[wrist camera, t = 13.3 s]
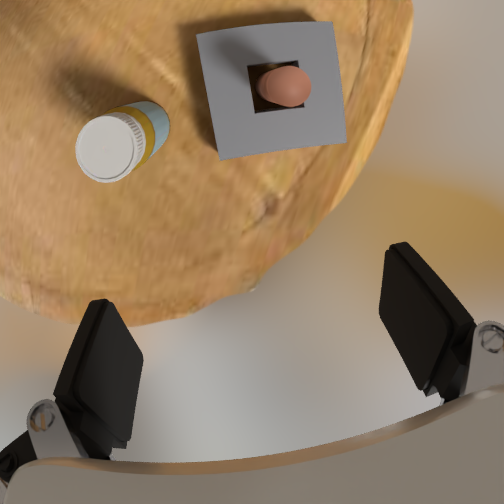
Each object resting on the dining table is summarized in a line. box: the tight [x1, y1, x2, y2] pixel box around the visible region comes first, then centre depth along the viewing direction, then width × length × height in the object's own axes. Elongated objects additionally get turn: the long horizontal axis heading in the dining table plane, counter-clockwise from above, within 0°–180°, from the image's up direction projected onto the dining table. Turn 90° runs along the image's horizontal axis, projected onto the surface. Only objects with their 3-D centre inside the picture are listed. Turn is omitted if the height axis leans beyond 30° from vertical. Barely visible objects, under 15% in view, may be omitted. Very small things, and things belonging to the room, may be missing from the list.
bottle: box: [76, 101, 170, 182], centre depth 29 cm, size 7×7×15 cm
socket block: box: [196, 22, 347, 161], centre depth 33 cm, size 16×16×4 cm
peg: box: [255, 66, 311, 107], centre depth 30 cm, size 4×4×12 cm
